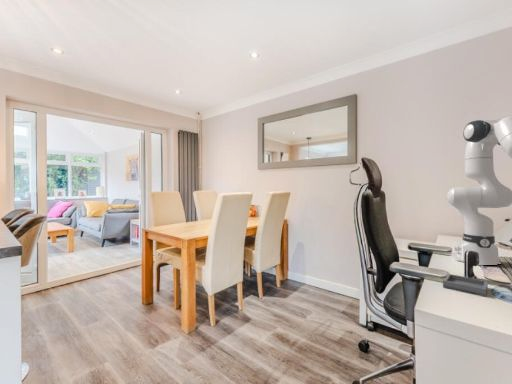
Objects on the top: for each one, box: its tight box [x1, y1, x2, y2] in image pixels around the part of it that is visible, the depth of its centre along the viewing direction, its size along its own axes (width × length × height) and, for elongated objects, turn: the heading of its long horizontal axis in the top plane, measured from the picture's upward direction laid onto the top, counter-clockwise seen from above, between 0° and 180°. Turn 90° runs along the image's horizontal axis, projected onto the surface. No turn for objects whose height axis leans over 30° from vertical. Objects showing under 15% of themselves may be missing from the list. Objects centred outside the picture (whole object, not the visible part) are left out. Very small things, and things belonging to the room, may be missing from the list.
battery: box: [463, 250, 479, 279], centre depth 101 cm, size 7×4×11 cm, turn 130°
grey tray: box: [442, 273, 488, 298], centre depth 92 cm, size 12×12×2 cm
